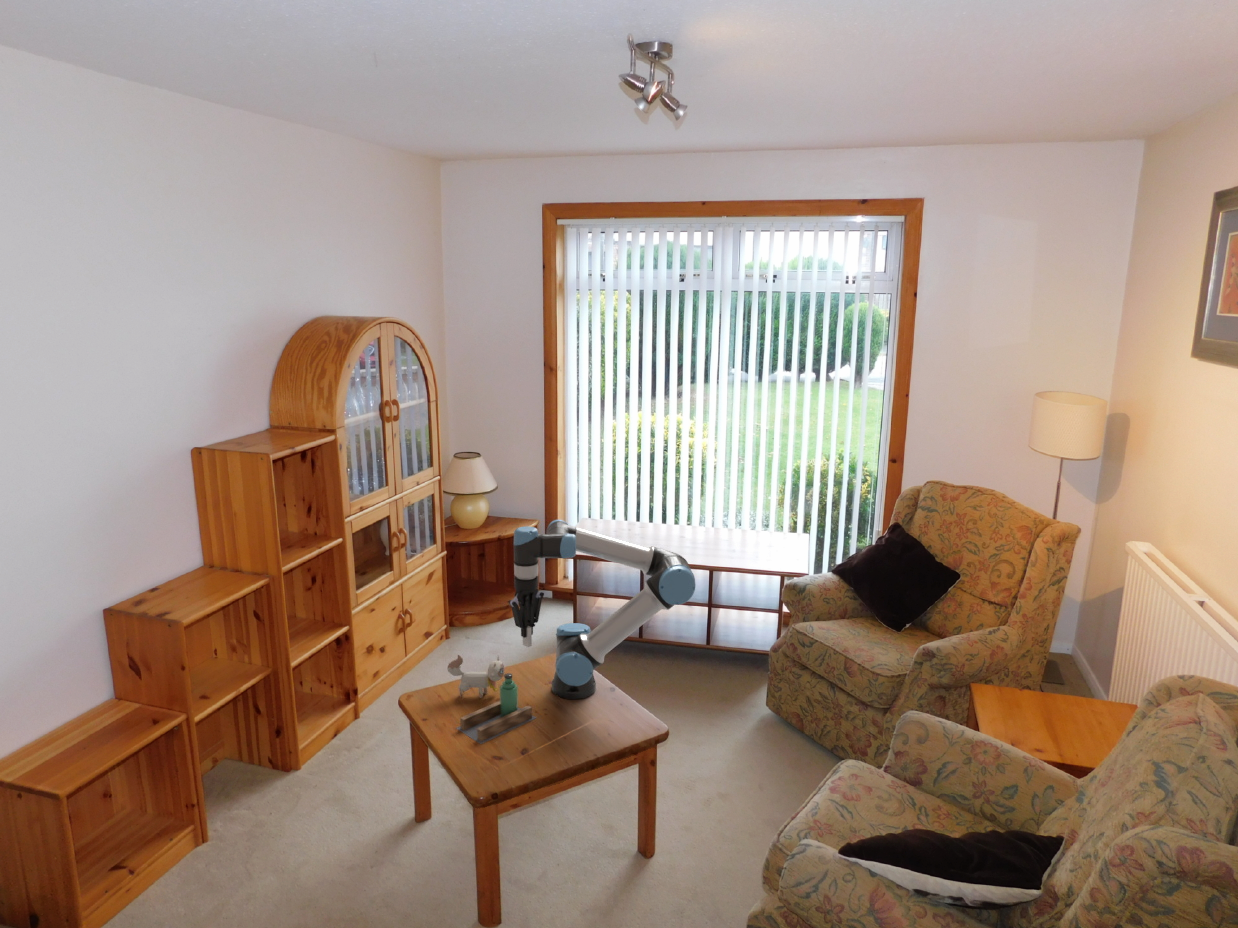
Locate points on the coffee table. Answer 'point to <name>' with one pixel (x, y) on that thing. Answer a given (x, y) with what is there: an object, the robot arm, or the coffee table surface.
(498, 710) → the rest
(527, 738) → the coffee table surface
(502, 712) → the bottle
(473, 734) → the mat
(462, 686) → the toy
